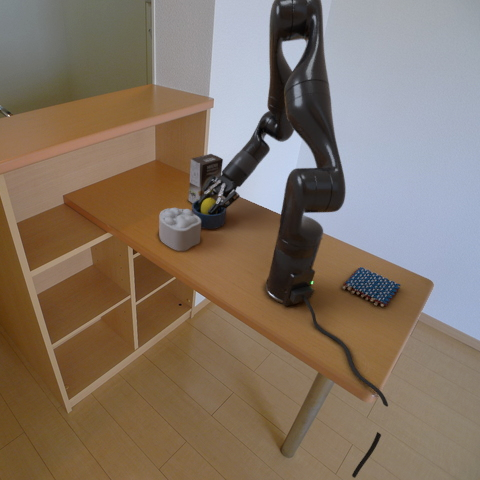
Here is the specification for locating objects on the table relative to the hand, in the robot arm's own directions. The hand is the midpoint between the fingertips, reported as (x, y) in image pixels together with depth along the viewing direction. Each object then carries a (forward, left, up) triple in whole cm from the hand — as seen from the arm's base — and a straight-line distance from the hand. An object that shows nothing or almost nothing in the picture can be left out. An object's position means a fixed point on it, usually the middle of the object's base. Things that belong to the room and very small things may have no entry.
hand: (204, 209), depth 115 cm
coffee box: (+13, -6, -5) cm, 15 cm away
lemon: (0, -2, -4) cm, 5 cm away
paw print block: (-5, +11, -5) cm, 13 cm away
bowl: (0, -2, -5) cm, 5 cm away
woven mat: (-43, -26, -5) cm, 51 cm away
